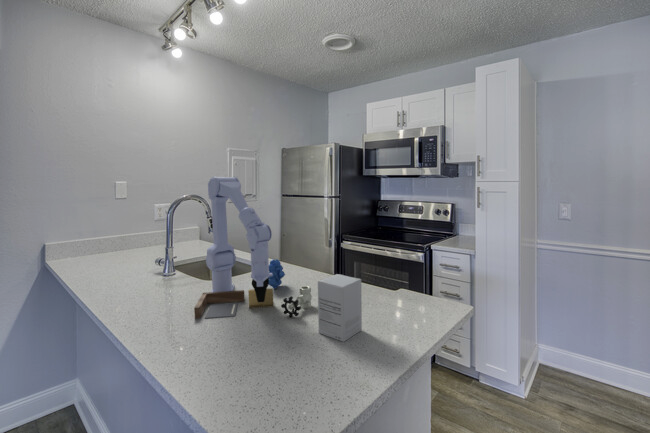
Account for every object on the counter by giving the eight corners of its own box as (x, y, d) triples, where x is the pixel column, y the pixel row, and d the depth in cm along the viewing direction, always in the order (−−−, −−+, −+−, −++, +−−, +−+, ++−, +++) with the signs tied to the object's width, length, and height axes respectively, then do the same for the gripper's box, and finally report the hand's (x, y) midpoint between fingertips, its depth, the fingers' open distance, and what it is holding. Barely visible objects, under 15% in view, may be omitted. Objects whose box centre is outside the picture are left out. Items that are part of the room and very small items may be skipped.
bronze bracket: (249, 308, 109) (248, 290, 108) (249, 302, 114) (249, 286, 113) (273, 306, 110) (272, 289, 110) (273, 301, 115) (272, 284, 115)
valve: (300, 303, 114) (281, 316, 103) (299, 284, 113) (280, 295, 102) (317, 305, 111) (299, 319, 100) (316, 287, 110) (299, 298, 99)
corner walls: (203, 302, 115) (203, 292, 114) (244, 299, 117) (244, 290, 117) (194, 318, 101) (194, 307, 101) (241, 315, 103) (241, 304, 103)
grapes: (278, 294, 122) (278, 262, 121) (262, 292, 124) (261, 261, 123) (291, 284, 133) (290, 255, 132) (276, 283, 135) (275, 254, 134)
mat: (210, 305, 112) (210, 304, 112) (237, 303, 113) (237, 302, 113) (204, 318, 101) (204, 317, 101) (234, 316, 102) (234, 315, 102)
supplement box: (337, 322, 98) (336, 273, 96) (362, 330, 92) (362, 278, 91) (317, 333, 91) (316, 280, 89) (343, 342, 85) (343, 287, 84)
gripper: (272, 266, 102) (273, 308, 104) (271, 255, 116) (272, 292, 118) (249, 267, 101) (250, 309, 102) (251, 256, 115) (252, 294, 117)
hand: (261, 300), depth 110 cm, fingers closed on bronze bracket
